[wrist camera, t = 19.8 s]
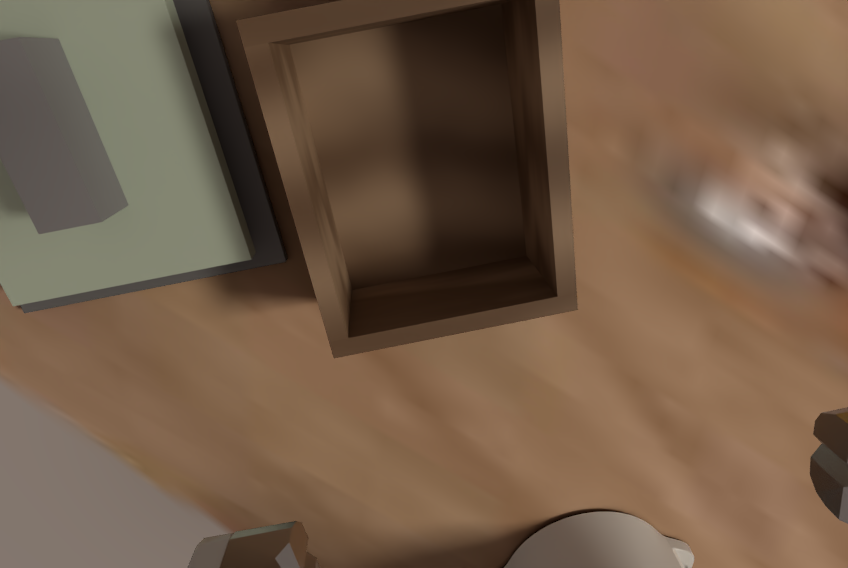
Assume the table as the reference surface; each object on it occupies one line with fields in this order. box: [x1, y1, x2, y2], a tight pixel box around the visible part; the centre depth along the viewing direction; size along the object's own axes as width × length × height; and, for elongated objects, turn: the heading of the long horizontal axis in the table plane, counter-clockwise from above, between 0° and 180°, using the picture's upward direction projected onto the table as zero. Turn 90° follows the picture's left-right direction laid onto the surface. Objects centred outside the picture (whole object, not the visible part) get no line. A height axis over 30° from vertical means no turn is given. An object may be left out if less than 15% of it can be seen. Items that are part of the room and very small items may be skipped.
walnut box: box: [236, 0, 578, 358], centre depth 25 cm, size 22×14×9 cm, turn 10°
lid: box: [0, 0, 256, 306], centre depth 25 cm, size 16×13×5 cm
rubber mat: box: [20, 0, 288, 313], centre depth 28 cm, size 19×16×1 cm
